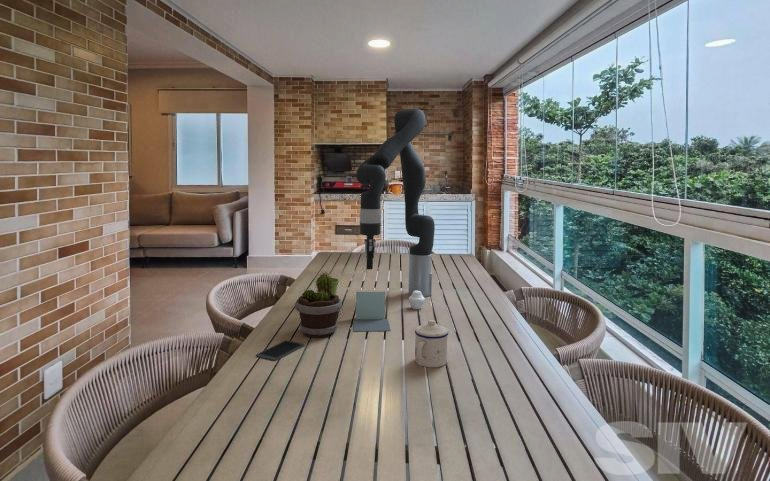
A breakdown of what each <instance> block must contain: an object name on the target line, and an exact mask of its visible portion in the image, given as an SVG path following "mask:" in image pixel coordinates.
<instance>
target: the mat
mask: <svg viewBox="0 0 770 481" xmlns="http://www.w3.org/2000/svg"><path fill="white" fill-rule="evenodd" d="M352 324H353V332H357V333H358V332H391V331H392V330H391V326H390V323H389V319H388V318H385V319H356V318H355V319H353V320H352Z"/></svg>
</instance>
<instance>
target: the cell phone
mask: <svg viewBox="0 0 770 481" xmlns="http://www.w3.org/2000/svg"><path fill="white" fill-rule="evenodd" d="M303 347H305V344H304V343H301V342H296V341H292V340H283V341H281V342H279V343H277V344H275V345H273V346H271V347H269V348H267V349H265V350H263V351H260V352H259V353H257V354H255V357H256V358H259V359H263V360H267V361H272V362H277V361H279V360H281V359H283V358H284V357H286V356H289V355H291V354H292V353H294V352H296V351H297V350H299V349H301V348H303Z"/></svg>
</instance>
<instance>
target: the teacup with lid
mask: <svg viewBox="0 0 770 481" xmlns="http://www.w3.org/2000/svg"><path fill="white" fill-rule="evenodd" d="M427 321H428V322H426V323H425V324H421V325H418V326H417V327H416V328H415V330H414V333H415V339H414V340H415V343H414V344H415V346H414V347H415V348H414V349H415V350H414V353H415V354H414V361H415V363H416V364H417V365H419V366H421V367H425V368H440V367H443V366H444V365H446V364H447V359H448V358H447V357H448V336H449V330H448V328H446V327H445V326H442V325H440V324H438V323H436V322H437V321H436V320H434V319H429V320H427Z"/></svg>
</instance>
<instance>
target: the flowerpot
mask: <svg viewBox="0 0 770 481" xmlns="http://www.w3.org/2000/svg"><path fill="white" fill-rule="evenodd" d="M330 278H334V277H333V276H331V275H330V274H329V273H328V272H327V271H324V272H322V274H319V275H317V277H316V278H315V280H314V282H315V281H316V279H318V280H317V281H316V282H317V285H316V282H315V284H314V286H315V288H316V292H315V290H313V289H311V287H308V289H306V290H305V289H303V293H302V295H301V296H299V297H298V299H297V300H296V302H295V304H294V308H295V311H297V312H298V315H299V320H300V324H299V328H300V330H301V332H303V335H304V336H306V337H309V338H310V337H311V338H317V337H320V338H325V337H330V336H332V335H334V334H335V332H336V331H337V329H338V325H339V322H338V320H337V319H338V317H339V311H340V310H342V307H343V301H342V300H341V298H340V297H339V295H338V294H337V295H334V294H332V292H331V290H332V289H333V288H331V287H332V285H331V284H332V283H333V281H334V280H331V279H330ZM331 281H332V282H331ZM317 287H318V288H317Z"/></svg>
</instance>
